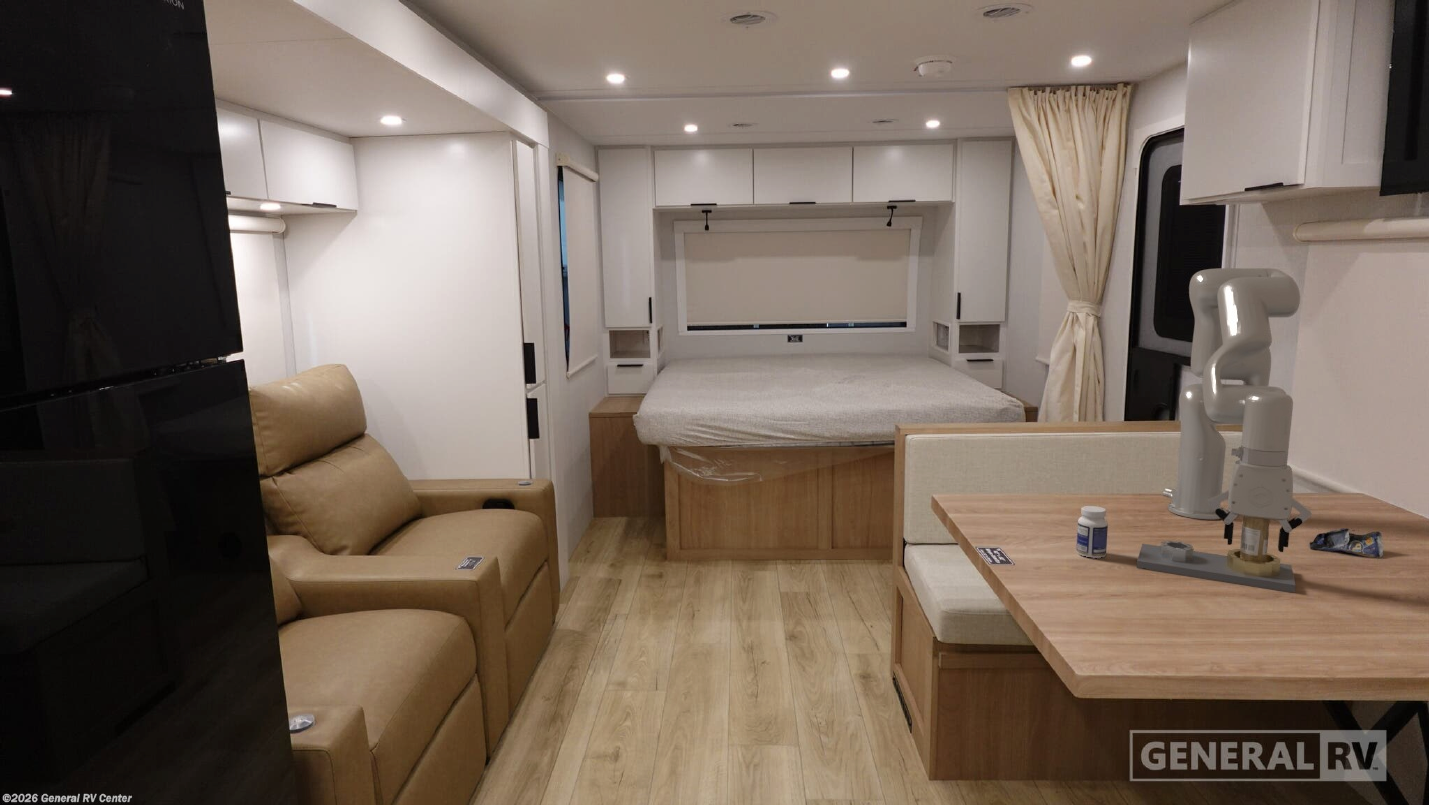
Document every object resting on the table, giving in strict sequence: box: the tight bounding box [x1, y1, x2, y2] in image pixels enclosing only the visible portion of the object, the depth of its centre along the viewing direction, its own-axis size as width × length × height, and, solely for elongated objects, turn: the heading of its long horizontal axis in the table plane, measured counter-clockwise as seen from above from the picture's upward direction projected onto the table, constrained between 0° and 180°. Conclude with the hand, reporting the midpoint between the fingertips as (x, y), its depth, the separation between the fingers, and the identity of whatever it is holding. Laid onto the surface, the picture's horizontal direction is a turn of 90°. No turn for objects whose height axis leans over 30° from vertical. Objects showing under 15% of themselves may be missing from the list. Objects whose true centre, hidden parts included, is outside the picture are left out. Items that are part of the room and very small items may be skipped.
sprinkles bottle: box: [1239, 516, 1271, 562], centre depth 159 cm, size 5×5×13 cm
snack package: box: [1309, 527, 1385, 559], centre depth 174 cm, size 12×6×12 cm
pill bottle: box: [1075, 505, 1109, 559], centre depth 173 cm, size 6×6×10 cm
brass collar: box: [1226, 548, 1281, 577], centre depth 160 cm, size 8×8×2 cm
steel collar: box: [1159, 540, 1195, 562], centre depth 167 cm, size 6×6×2 cm
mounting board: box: [1136, 543, 1296, 594], centre depth 164 cm, size 26×12×2 cm, turn 58°
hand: (1254, 546), depth 159 cm, fingers open, 7 cm apart
